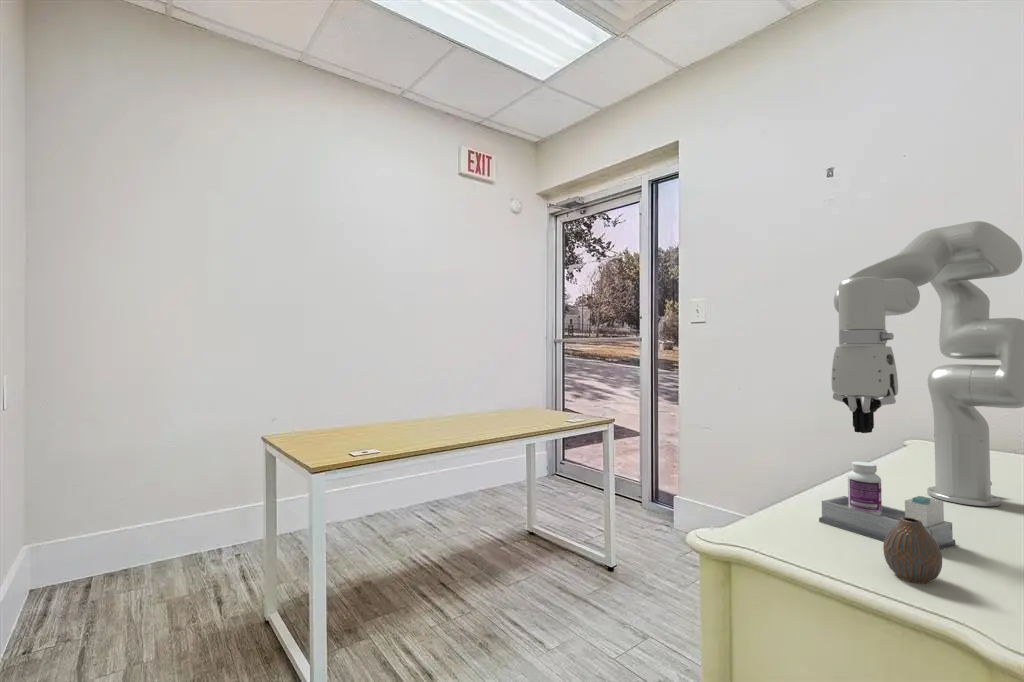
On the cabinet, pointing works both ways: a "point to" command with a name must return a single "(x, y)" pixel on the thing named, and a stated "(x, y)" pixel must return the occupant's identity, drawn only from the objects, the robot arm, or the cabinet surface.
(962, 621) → the cabinet surface
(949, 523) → the grey tray
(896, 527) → the vase
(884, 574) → the cabinet surface
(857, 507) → the pill bottle
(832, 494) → the cabinet surface
